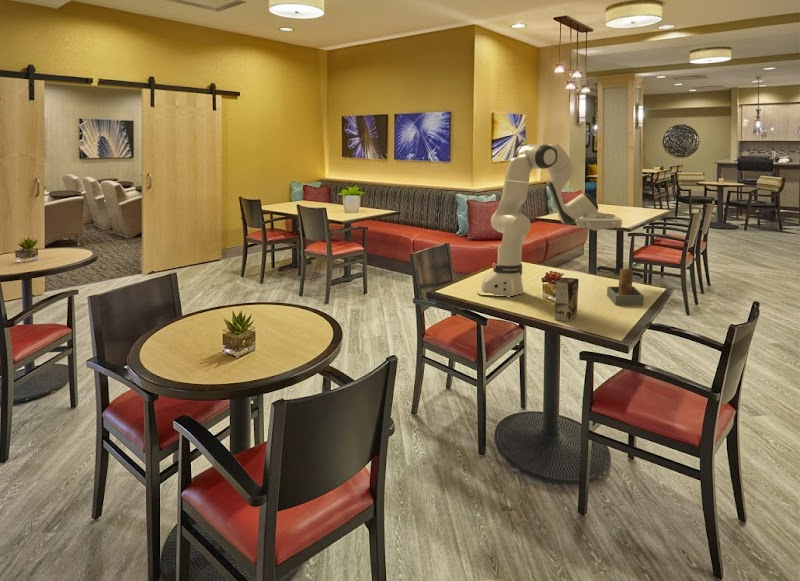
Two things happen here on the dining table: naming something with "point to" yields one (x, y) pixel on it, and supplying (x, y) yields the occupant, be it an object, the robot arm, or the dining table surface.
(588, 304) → the dining table surface
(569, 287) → the coffee box
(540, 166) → the robot arm
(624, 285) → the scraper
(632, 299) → the tray
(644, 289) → the dining table surface
